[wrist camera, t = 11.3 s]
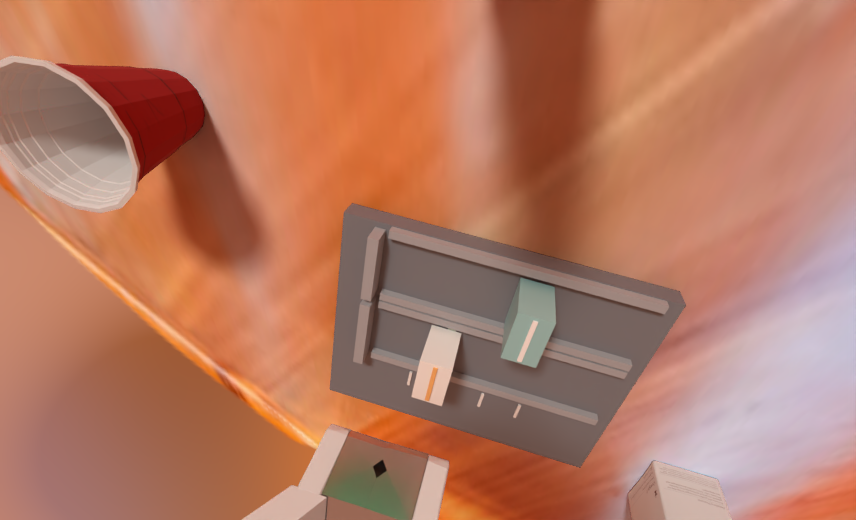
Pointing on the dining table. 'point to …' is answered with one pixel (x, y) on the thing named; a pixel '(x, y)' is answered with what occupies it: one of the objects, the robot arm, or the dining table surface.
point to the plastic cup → (92, 127)
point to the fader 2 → (529, 323)
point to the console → (489, 333)
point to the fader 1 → (436, 365)
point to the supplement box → (676, 495)
